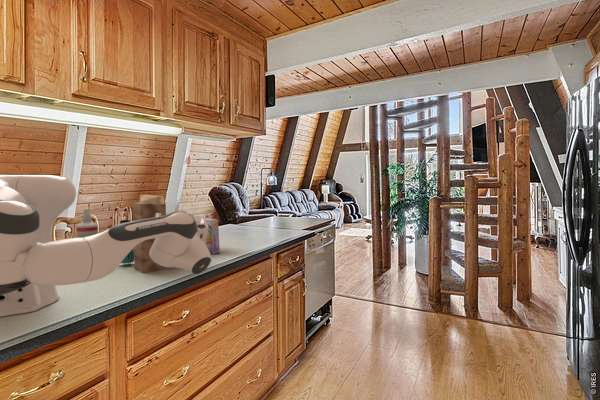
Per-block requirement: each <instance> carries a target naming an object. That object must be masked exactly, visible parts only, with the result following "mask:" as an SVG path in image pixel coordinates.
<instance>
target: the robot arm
mask: <svg viewBox="0 0 600 400" xmlns="http://www.w3.org/2000/svg"><path fill="white" fill-rule="evenodd" d="M76 197H77V190H76V186H75V185H74V183H73V182H72V180H71V179H69V178H68V177H62V176H59V175H51V174H0V317H5V316H6V317H7V316H14V315H19V314H25V313H32V312H36V311H38V310H40V309H41V308H44V307H46V306H48V305H51V304H53V303H55V302H57V301H58V300H59V299H60V296H59V293H58V291H57V289H56V286H67V285H69V286H70V285H76V284H82V283H88V282H89V283H90V282H94V281H99V280H101V279H103V278H106V277H107V276H109V275H110V274H112V273H114V271H116V269H118V267H119V266H120V264H122V263H121V262H122V261H123V259H124V258H125V257H126V256H127V255H128V253H129V252H130V251H131V250H132V249H133V248H134V247H135V246H137V245H138V244H139V243H141V242H143V241H145V240H148V239H153V238H154V239H155V241H154V243H153V245H152V247H151V249H150V251H149V257H150V259H151V261H152V262H153V263H154V264H155V265H156V266H158V267H159V268H162V269H163V270H172V269H181V270H185V271H187V272H188V273H190V274H192V275H199V274H201V273H203V272H204V271H206V270H207V269H208V267H209V266H210V264H211V263H212V256H211V254H210V252H209V250H208V248H207V246H206V245H205V243H204V242H203V241H205V239H206V236H207V233H208V228H209V227H208V225H207V223H206V221H205V219H204V218H205V217H203V216H202V215H192V214H190V213H188V212H187V211H186V210H185V211H173V212H169V213H166V215H164V216H161V214H160V213H156V214H155V217H154V218H148V219H142V220H136V221H133V220H132V221H131V220H130V222H125V223H121V224H120V223H118V224H115V225H114V226H112V227H110V228H108V229H106V230H103V231H102V232H98V234H95V235H92V236H87V237H80V238H77V237H71V238H70V237H69V238H64V239H56V240H52V229H53V227H54V224H55V222H56V220H57V219H58V217H59V216H60V215H61V214H62V213H63V212H64V211H66V210H67V209H68V208H70V207H71V206H72V205H73V204H74V203H75V200H76Z"/></svg>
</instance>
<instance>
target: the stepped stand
mask: <svg viewBox="0 0 600 400" xmlns="http://www.w3.org/2000/svg"><path fill="white" fill-rule="evenodd" d="M156 213H160V214H161V216H164V215H166V214H167V203H166V202H164V204H160V205H156V204H150V203H143V202H140V201H139V202H132V221H136V220H142V219H148V218H154V217H155V214H156ZM154 241H155V239H154V238H153V239H148V240H145V241H143V242H141V243H139V244H138V245H137V246H135V247H134V262H133V263H134V266H133V267H134V269H135V270H137V271H138V272H139V273H142V274H146V273H150V272H151V273H152V272H156V271H157V272H158V271H162V270H164V269H162V268H159V267H158V266H156V265H155V264H154V263H153V262H152V261H151V259H150V257H149V251H150V249H151V247H152V245H153V243H154Z"/></svg>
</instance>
